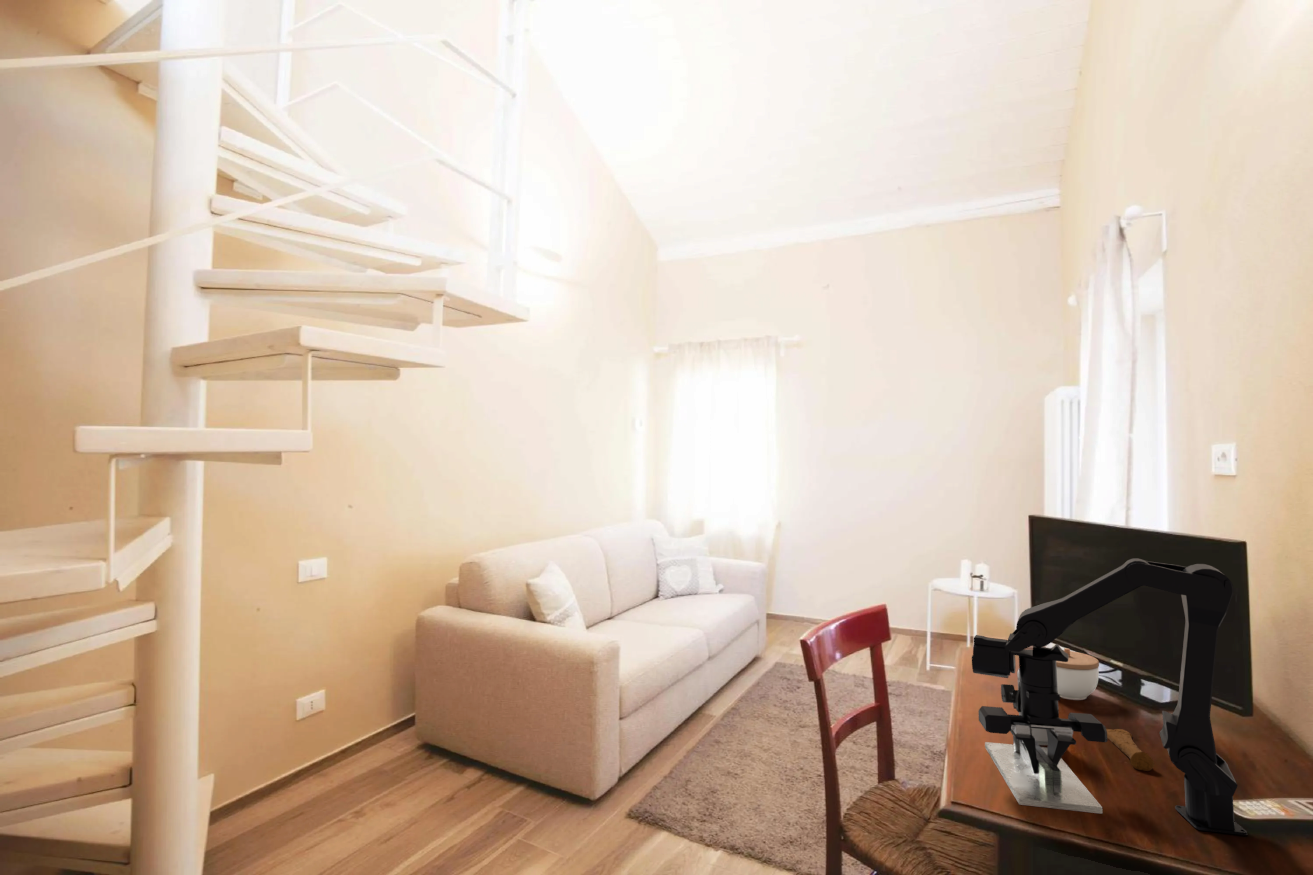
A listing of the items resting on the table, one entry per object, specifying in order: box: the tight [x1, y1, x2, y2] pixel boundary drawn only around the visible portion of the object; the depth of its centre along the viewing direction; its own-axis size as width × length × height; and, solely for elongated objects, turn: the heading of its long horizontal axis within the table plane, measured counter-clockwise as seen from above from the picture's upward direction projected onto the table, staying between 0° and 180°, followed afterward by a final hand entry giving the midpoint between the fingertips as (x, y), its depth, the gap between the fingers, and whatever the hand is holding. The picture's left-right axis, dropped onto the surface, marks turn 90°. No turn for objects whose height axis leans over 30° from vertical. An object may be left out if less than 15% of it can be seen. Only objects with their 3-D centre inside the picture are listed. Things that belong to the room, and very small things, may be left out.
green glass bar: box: [1035, 741, 1062, 793], centre depth 112 cm, size 14×1×4 cm, turn 166°
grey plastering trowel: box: [984, 728, 1103, 814], centre depth 113 cm, size 22×12×5 cm, turn 166°
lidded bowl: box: [1056, 648, 1100, 701], centre depth 153 cm, size 13×13×11 cm
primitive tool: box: [1106, 728, 1155, 772], centre depth 124 cm, size 19×6×4 cm, turn 161°
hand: (1042, 773), depth 110 cm, fingers open, 2 cm apart
